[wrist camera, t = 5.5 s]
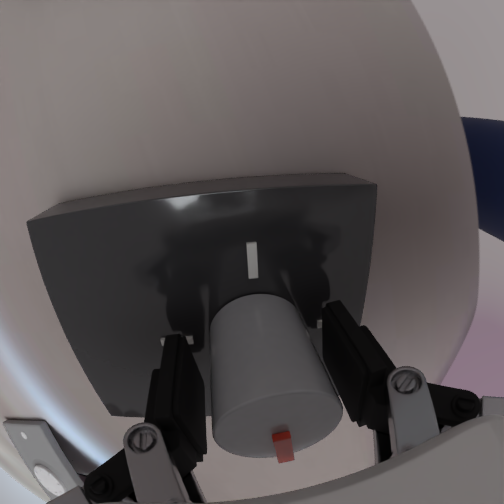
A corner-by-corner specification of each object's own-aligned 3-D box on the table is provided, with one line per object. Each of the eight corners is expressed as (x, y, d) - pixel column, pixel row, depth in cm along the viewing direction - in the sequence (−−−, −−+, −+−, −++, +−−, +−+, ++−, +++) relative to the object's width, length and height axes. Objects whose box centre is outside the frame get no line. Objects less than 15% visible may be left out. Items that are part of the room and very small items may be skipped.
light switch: (34, 427, 16) (110, 532, 14) (66, 407, 22) (127, 504, 20) (-4, 424, 16) (61, 520, 14) (25, 409, 22) (80, 498, 20)
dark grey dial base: (345, 173, 13) (379, 184, 10) (328, 361, 17) (345, 396, 14) (58, 203, 11) (23, 222, 8) (119, 381, 16) (110, 417, 13)
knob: (198, 304, 11) (194, 417, 6) (298, 283, 11) (352, 382, 6) (221, 372, 12) (230, 472, 8) (304, 354, 13) (341, 447, 8)
